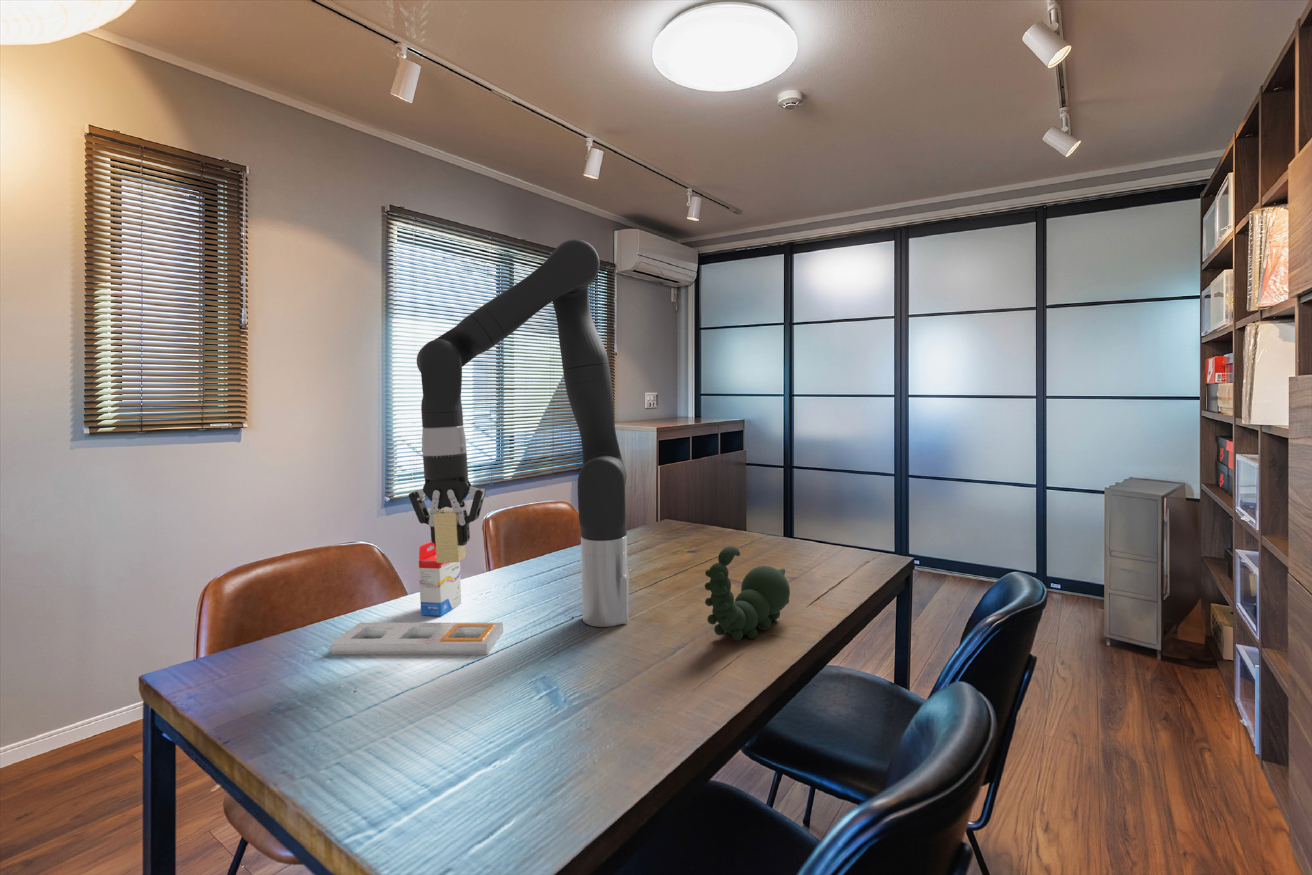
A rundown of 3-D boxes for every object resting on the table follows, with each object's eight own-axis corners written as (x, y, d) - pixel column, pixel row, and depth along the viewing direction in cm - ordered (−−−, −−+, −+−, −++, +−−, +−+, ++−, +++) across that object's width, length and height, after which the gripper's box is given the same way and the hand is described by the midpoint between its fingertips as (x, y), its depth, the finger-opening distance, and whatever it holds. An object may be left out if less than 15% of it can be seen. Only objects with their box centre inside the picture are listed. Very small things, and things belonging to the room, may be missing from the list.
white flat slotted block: (503, 632, 118) (502, 621, 118) (487, 654, 108) (486, 642, 108) (360, 632, 119) (359, 621, 119) (331, 654, 109) (331, 642, 109)
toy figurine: (739, 664, 107) (806, 612, 125) (733, 560, 104) (803, 522, 123) (696, 650, 113) (766, 602, 131) (689, 551, 110) (762, 516, 129)
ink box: (441, 617, 127) (438, 547, 126) (420, 615, 128) (417, 546, 127) (462, 603, 135) (459, 537, 134) (442, 602, 136) (439, 537, 135)
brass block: (466, 556, 114) (463, 508, 114) (458, 562, 110) (455, 512, 110) (445, 556, 114) (441, 509, 114) (436, 562, 110) (433, 513, 110)
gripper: (489, 448, 114) (495, 538, 116) (414, 451, 115) (421, 541, 116) (476, 452, 107) (483, 549, 108) (396, 455, 107) (403, 551, 109)
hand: (450, 544), depth 112 cm, fingers closed on brass block, 4 cm apart
